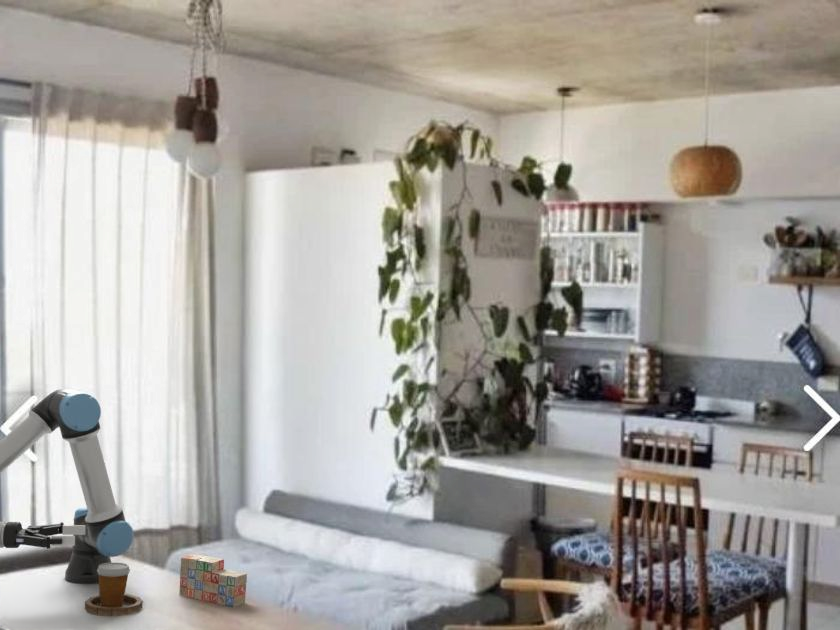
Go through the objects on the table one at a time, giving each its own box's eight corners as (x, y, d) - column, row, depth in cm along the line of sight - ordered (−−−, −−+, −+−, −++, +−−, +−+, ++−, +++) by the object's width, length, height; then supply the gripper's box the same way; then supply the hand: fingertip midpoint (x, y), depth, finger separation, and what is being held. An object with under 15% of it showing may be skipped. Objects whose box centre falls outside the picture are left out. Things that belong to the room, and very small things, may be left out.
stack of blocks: (245, 603, 322) (248, 563, 322) (233, 607, 316) (235, 567, 316) (191, 591, 332) (193, 553, 332) (178, 595, 326) (180, 556, 326)
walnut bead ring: (116, 597, 319) (116, 591, 319) (152, 607, 311) (153, 601, 311) (73, 608, 306) (74, 601, 306) (111, 618, 297) (111, 611, 297)
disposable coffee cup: (120, 611, 305) (122, 570, 305) (89, 608, 306) (91, 568, 306) (133, 603, 314) (135, 563, 314) (103, 600, 315) (105, 560, 316)
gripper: (17, 537, 317) (88, 538, 319) (-8, 558, 292) (69, 558, 294) (17, 513, 317) (89, 513, 319) (-8, 531, 292) (70, 532, 294)
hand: (80, 535), depth 307 cm, fingers open, 13 cm apart
